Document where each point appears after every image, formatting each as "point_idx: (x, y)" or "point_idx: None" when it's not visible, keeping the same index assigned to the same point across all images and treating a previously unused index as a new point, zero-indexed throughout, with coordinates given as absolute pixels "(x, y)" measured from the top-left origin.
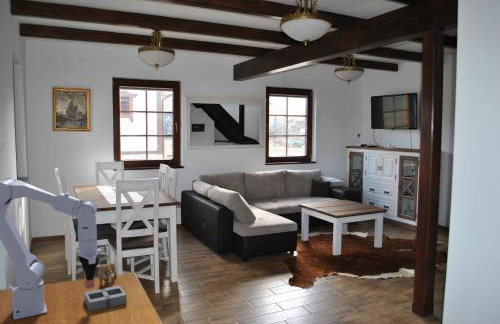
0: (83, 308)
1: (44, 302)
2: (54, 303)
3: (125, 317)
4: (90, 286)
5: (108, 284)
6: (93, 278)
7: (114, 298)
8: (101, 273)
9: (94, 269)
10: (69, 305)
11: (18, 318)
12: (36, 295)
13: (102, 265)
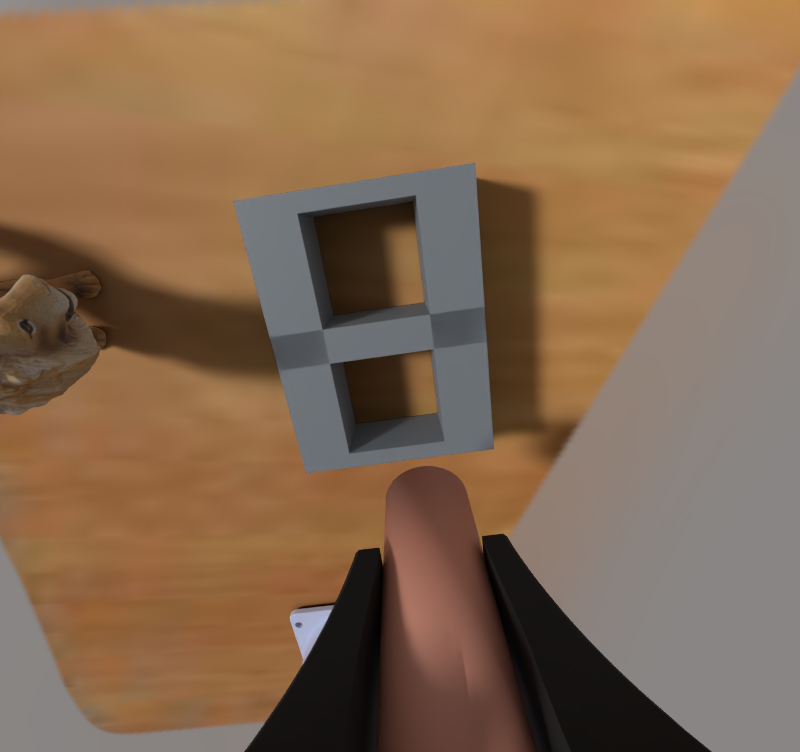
0: None
1: (298, 615)
2: (304, 571)
3: (679, 213)
4: (470, 506)
5: (85, 282)
6: (510, 545)
7: (481, 274)
8: (69, 380)
9: (593, 660)
10: (355, 511)
11: None
12: None
13: None
